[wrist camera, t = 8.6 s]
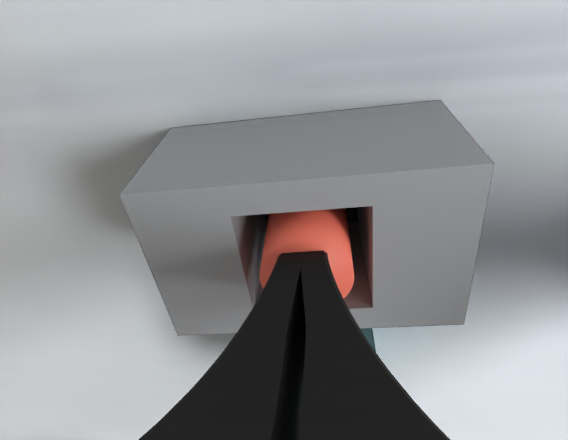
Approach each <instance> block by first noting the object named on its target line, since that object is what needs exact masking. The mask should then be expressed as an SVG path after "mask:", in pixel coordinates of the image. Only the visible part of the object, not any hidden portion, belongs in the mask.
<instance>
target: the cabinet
mask: <svg viewBox="0 0 568 440" xmlns="http://www.w3.org/2000/svg"><path fill="white" fill-rule="evenodd" d="M493 167H494V163H493V161H492V160H491V159H490V158H489V157H488V155H487V154H486V153H485V152H484V151H483V150H482V148H481V147H480V146H479V145H478V144H477V142H476V141H475V140H474V139H473V138H472V137H471V135H470V134H469V133H468V132H467V131H466V129H465V128H464V127H463V126H462V125H461V123H460V122H459V121H458V120H457V119H456V118H455V116H454V115H453V114H452V113H451V112H450V110H449V109H448V108H447V107H446V106H445V105H444V103H443V102H442V101H441V100H437V101H427V102H417V103H408V104H398V105H388V106H379V107H369V108H359V109H350V110H340V111H330V112H321V113H311V114H302V115H292V116H282V117H273V118H263V119H253V120H244V121H234V122H224V123H215V124H205V125H195V126H186V127H176V128H171V129H170V130H169V131H168V133H167V134H166V135H165V136H164V138H163V139H162V140H161V142H160V143H159V144H158V145H157V147H156V148H155V149H154V151H153V152H152V153H151V155H150V156H149V157H148V158H147V160H146V161H145V162H144V164H143V165H142V166H141V167H140V169H139V170H138V171H137V173H136V174H135V175H134V176H133V178H132V179H131V180H130V182H129V183H128V184H127V185H126V187H125V188H124V189H123V191H122V192H121V193H120V194H119V196H120V198H121V201H122V203H123V205H124V208H125V210H126V213H127V215H128V217H129V220H130V222H131V225H132V227H133V229H134V232H135V234H136V237H137V239H138V241H139V244H140V246H141V248H142V251H143V253H144V256H145V258H146V260H147V263H148V265H149V268H150V270H151V272H152V275H153V277H154V280H155V282H156V284H157V287H158V289H159V291H160V294H161V296H162V299H163V301H164V303H165V306H166V308H167V311H168V313H169V315H170V318H171V320H172V323H173V325H174V327H175V330H176V332H177V334H178V336H179V335H205V334H231V333H237V332H238V330H239V329H240V327H241V326H242V324H243V322H244V321H245V319H246V318H247V316H248V315H249V313H250V311H251V310H252V308H253V307H254V305H255V303H256V301H257V299H258V298H259V296H260V294H261V292H262V290H263V288H262V286H261V282H260V277H259V276H260V267H261V260H262V254H263V248H264V242H265V235H266V229H267V223H266V218H265V214H272V213H286V212H299V211H312V210H326V209H339V208H353V207H358V222H347V223H348V231H349V238H350V246H351V254H352V261H353V269H354V283H353V286H352V289H351V290H350V292H349V294H348V295H347V296H346V297H345V298H344V301H345V303H346V305H347V307H348V308H349V310H350V312H351V314H352V316H353V318H354V319H355V321H356V323H357V324H358V326H359V328H385V327H411V326H437V325H463V324H464V321H465V315H466V310H467V305H468V299H469V294H470V289H471V284H472V278H473V273H474V268H475V262H476V257H477V252H478V247H479V241H480V236H481V231H482V225H483V220H484V215H485V210H486V204H487V199H488V194H489V189H490V183H491V178H492V173H493Z"/></svg>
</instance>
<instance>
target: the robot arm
mask: <svg viewBox="0 0 568 440" xmlns="http://www.w3.org/2000/svg"><path fill="white" fill-rule="evenodd" d="M139 440H450V439H449V438H448V437H447V436H446V435H445V434H444V433H443V432H442V431H441V430H440V429H439V428H438V427H437V426H436V425H435V424H434V423H433V421H432V420H431V419H430V418H429V417H428V416H427V415H426V414H425V413H424V412H423V410H422V409H421V408H420V407H419V406H418V405H417V404H416V403H415V402H414V400H413V399H412V398H411V397H410V396H409V394H408V393H407V392H406V391H405V390H404V388H403V387H402V386H401V385H400V383H399V382H398V381H397V380H396V379H395V377H394V376H393V375H392V374H391V373H390V371H389V370H388V369H387V367H386V366H385V365H384V363H383V362H382V361H381V359H380V358H379V356H378V355H377V354H376V352H375V351H374V349H373V348H372V346H371V345H370V343H369V342H368V340H367V339H366V337H365V336H364V334H363V333H362V331H361V329H360V328H359V326H358V324H357V323H356V321H355V319H354V318H353V316H352V314H351V312H350V310H349V308H348V307H347V305H346V303H345V301H344V299H343V297H342V294H341V292H340V290H339V288H338V286H337V284H336V281H335V279H334V276H333V273H332V271H331V268H330V264H329V260H328V253H326V252H325V251H324V250H322V251H307V252H291V253H281V254H280V255H279V256H278V258H277V261H276V263H275V266H274V268H273V270H272V273H271V275H270V277H269V279H268V281H267V283H266V285H265V287H264V289H263V290H262V292H261V294H260V296H259V298H258V299H257V301H256V303H255V305H254V307H253V308H252V310H251V311H250V313H249V315H248V316H247V318H246V319H245V321H244V322H243V324H242V326H241V327H240V329H239V330H238V332H237V333H236V335H235V336H234V337H233V339H232V340H231V342H230V343H229V344H228V346H227V347H226V348H225V350H224V351H223V352H222V354H221V355H220V356H219V357H218V359H217V360H216V361H215V362H214V364H213V365H212V366H211V367H210V368H209V369H208V371H207V372H206V373H205V374H204V375H203V377H202V378H201V379H200V380H199V381H198V382H197V383H196V384H195V386H194V387H193V388H192V389H191V390H190V391H189V392H188V393H187V394H186V395H185V396H184V397H183V398H182V399H181V400H180V401H179V402H178V403H177V404H176V405H175V406H174V407H173V408H172V409H171V410H170V411H169V412H168V413H167V414H166V415H165V416H164V417H163V418H162V419H161V420H160V421H159V422H158V423H157V424H156V425H155V426H153V427H152V428H151V429H150V430H149V431H148V432H147V433H146V434H144V435H143V436H142V437H141V438H140V439H139Z"/></svg>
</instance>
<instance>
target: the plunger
mask: <svg viewBox="0 0 568 440" xmlns="http://www.w3.org/2000/svg"><path fill="white" fill-rule="evenodd" d="M322 250H324V251H325V252H326V253H328V260H329V264H330V268H331V271H332V273H333V276H334V279H335V281H336V284H337V286H338V288H339V290H340V292H341V294H342V297H343V299H344V298H345V297H346V296H347V295H348V294H349V292H350V290H351V289H352V286H353V283H354V269H353V261H352V254H351V246H350V238H349V231H348V223H347V215H346V208H339V209H326V210H312V211H299V212H286V213H272V214H269V216H268V223H267V229H266V235H265V242H264V248H263V254H262V260H261V267H260V276H259V277H260V282H261V286H262V288H263V289H264V287H265V285H266V283H267V281H268V279H269V277H270V275H271V273H272V270H273V268H274V266H275V263H276V261H277V258H278V256H279V255H280V254H281V253H291V252H307V251H322Z"/></svg>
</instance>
